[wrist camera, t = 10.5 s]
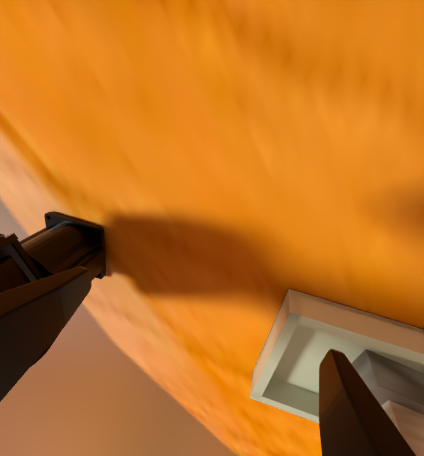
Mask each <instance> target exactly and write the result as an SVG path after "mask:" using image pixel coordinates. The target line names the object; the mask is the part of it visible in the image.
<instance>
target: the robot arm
mask: <svg viewBox="0 0 424 456" xmlns="http://www.w3.org/2000/svg"><path fill="white" fill-rule="evenodd" d="M45 223H46V228H44V229H42V230H41V231H39V232H37V233H35V234H33V235H31V236H29V237H27V238H26V239H24V240H22V241H20V242H19V241H18V240H17V239H18V237H17V236H16V235H15V233H13V234H10V235H8V236H4V235H2V234H0V402H1V400H2V399H3V398H4V397H5V396H6V394H7V393H8V392H9V391H10V390H11V389H12V388H13V386H14V385H15V384H16V383H17V381H18V380H19V379H20V378H21V377H22V376H23V375H24V373H25V372H26V371H27V370H28V369H29V368H30V367H31V366H32V365H34V364H35V363H36V362H37V361H38V360H39V359H41V358H42V356H43V355H44V354H45V353H46V352H47V351H48V349H49V348H50V347H51V345H52V344H53V342H54V341H55V339H56V338H57V336H58V335H59V333H60V332H61V330H62V329H63V328H64V327H65V325H66V324H67V322H68V321H69V320H70V318H71V317H72V316H73V314H74V313H75V311H76V310H77V308H78V307H79V306H80V304H81V303H82V301H83V300H84V298H85V297H86V296H87V294H88V293H89V291H90V289H91V281H92V280H93V279H94V278H95V277H96V278H99V279H102V278H103V277H104V276H105V267H106V266H105V247H104V230H103V228H101V227H100V226H97V225H93V224H90V223H87V222H83V221H80V220H77V219H73V218H70V217H66V216H63V215H60V214H56V213H53V212H48V213H46V214H45ZM97 230H98V231H99V232H98V231H97ZM319 427H320V437H321V448H322V456H416V454H415V453H414V452H413V450H412V449H411V447H410V446H409V444H408V443H407V442H406V440H405V439H404V437H403V436H402V435H401V433H400V432H399V430H398V429H397V427H396V426H395V425H394V423H393V422H392V420H391V419H390V418H389V416H388V415H387V413H386V412H385V410H384V409H383V408H382V406H381V405H380V403H379V402H378V401H377V399H376V398H375V396H374V395H373V393H372V392H371V391H370V389H369V388H368V386H367V385H366V384H365V382H364V381H363V379H362V378H361V376H360V375H359V374H358V372H357V371H356V369H355V368H354V367H353V365H352V364H351V362H350V361H349V359H348V358H347V357H346V355H345V354H344V353H343V352H341V351H337V350H334V349H330V350H329V351H328V352H327V353H326V355H325V357H324V358H323V360H322V361H321V363H320V366H319Z"/></svg>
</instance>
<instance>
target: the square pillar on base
mask: <svg viewBox="0 0 424 456" xmlns="http://www.w3.org/2000/svg"><path fill="white" fill-rule="evenodd" d="M351 364H352V365H353V367H354V368H355V369H356V371H357V372H358V374H359V375H360V376H361V378H362V379H363V381H364V382H365V384H366V385H367V386H368V388H369V389H370V391H371V392H372V393H373V395H374V396H375V398H376V399H377V401H378V402H379V403H380V405H381V406H382V408H383V409H384V410H385V412H386V413H387V415H388V416H389V418H390V419H391V420H392V422H393V423H394V425H395V426H396V427H397V429H398V430H399V432H400V433H401V435H402V436H403V437H404V439H405V440H406V442H407V443H408V444H409V446H410V447H411V449H412V450H413V452H414V453H415V454H416V456H424V373H422V372H419V371H417V370H415V369H412V368H410V367H407V366H405V365H403V364H400V363H398V362H396V361H393V360H391V359H388V358H386V357H384V356H381V355H379V354H376V353H374V352H372V351H369V350H367V349H365V350H364V351H363V352H362V353H361V354H360V355H359V356H358V357H357V358H356V359H355V360H354V361H353V362H352V363H351Z"/></svg>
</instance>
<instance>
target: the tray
mask: <svg viewBox="0 0 424 456" xmlns="http://www.w3.org/2000/svg"><path fill="white" fill-rule="evenodd" d="M330 349H334V350H337V351H341V352H343V353H344V354H345V355H346V357H347V358H348V359H349V361H350V362H351V363H352V362H353V361H354V360H355V359H356V358H357V357H358V356H359V355H360V354H361V353H362V352H363V351H364V350H365V349H367V350H369V351H372V352H374V353H376V354H379V355H381V356H384V357H386V358H388V359H391V360H393V361H396V362H398V363H400V364H403V365H405V366H407V367H410V368H412V369H415V370H417V371H419V372H422V373H424V329H421V328H417V327H414V326H411V325H408V324H404V323H401V322H398V321H394V320H391V319H388V318H384V317H381V316H378V315H374V314H371V313H368V312H364V311H361V310H358V309H355V308H351V307H348V306H345V305H341V304H338V303H335V302H331V301H328V300H325V299H321V298H318V297H315V296H312V295H308V294H305V293H302V292H298V291H295V290H292V289H288V292H287V294H286V296H285V299H284V301H283V303H282V305H281V308H280V310H279V312H278V315H277V317H276V319H275V322H274V324H273V326H272V329H271V331H270V333H269V335H268V338H267V340H266V342H265V345H264V347H263V349H262V352H261V354H260V356H259V359H258V361H257V363H256V365H255V368H254V370H253V374H252V383H251V393H250V398H251V399H254V400H256V401H259V402H262V403H265V404H267V405H270V406H273V407H276V408H278V409H281V410H284V411H286V412H289V413H292V414H295V415H297V416H300V417H303V418H306V419H308V420H311V421H314V422H317V423H319V366H320V363H321V361H322V360H323V358H324V357H325V355H326V353H327V352H328V351H329V350H330Z"/></svg>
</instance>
